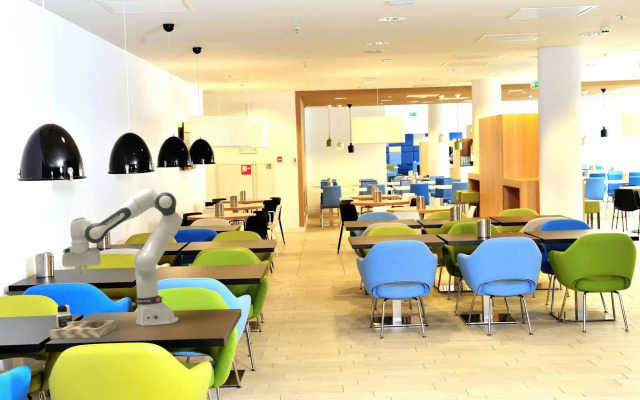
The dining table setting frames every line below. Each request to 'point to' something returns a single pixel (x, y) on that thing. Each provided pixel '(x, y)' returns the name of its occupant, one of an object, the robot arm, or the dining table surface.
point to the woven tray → (82, 330)
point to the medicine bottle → (63, 316)
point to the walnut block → (96, 323)
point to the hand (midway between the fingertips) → (82, 274)
